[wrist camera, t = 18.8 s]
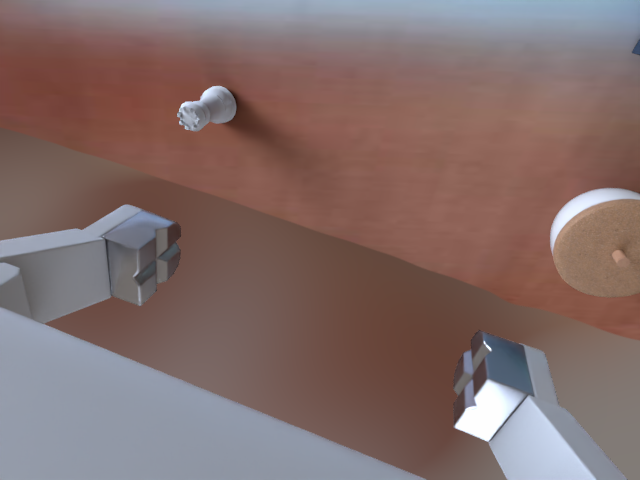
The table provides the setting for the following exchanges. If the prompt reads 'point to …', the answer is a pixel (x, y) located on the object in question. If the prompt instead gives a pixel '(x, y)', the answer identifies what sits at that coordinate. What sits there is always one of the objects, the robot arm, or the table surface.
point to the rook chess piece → (208, 109)
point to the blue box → (637, 48)
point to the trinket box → (599, 242)
